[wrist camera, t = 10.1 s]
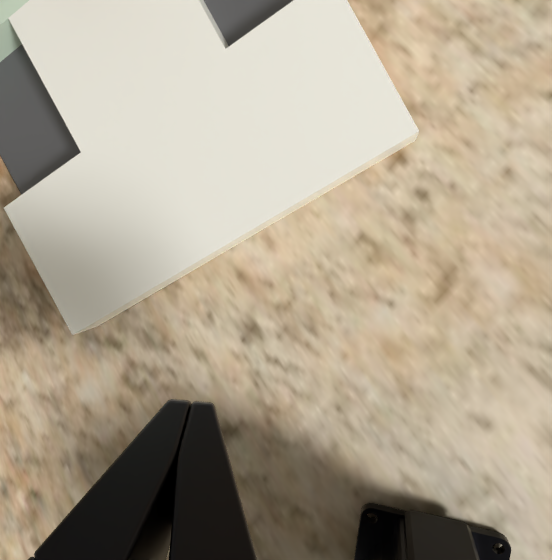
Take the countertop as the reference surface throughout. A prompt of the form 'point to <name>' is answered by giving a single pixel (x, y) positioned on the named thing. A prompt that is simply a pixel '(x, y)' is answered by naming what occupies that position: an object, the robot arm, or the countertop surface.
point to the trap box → (177, 132)
